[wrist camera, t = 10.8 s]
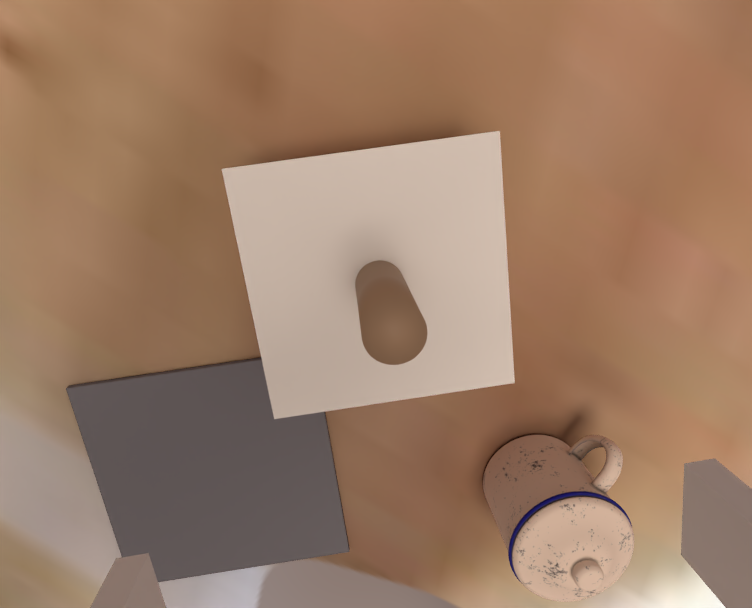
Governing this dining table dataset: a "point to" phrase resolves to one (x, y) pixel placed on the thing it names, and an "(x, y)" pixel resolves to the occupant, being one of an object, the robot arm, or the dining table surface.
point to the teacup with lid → (559, 515)
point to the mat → (209, 470)
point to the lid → (376, 272)
